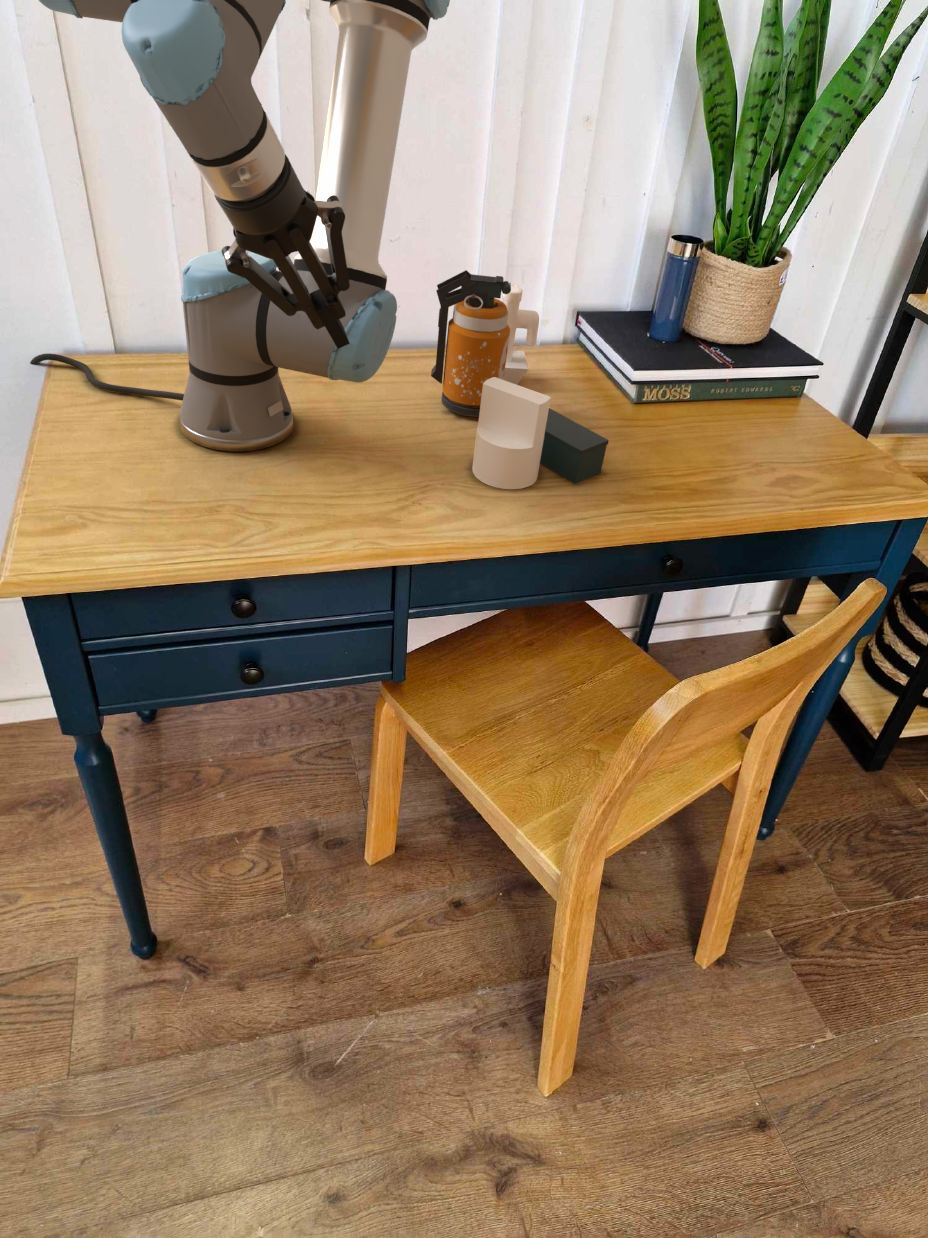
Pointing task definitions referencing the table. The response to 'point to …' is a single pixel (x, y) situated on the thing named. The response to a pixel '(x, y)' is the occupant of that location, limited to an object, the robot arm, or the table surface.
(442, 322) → the canister
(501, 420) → the cylinder with rectangular tab
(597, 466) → the pencil box
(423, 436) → the table surface
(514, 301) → the figurine
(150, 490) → the table surface
